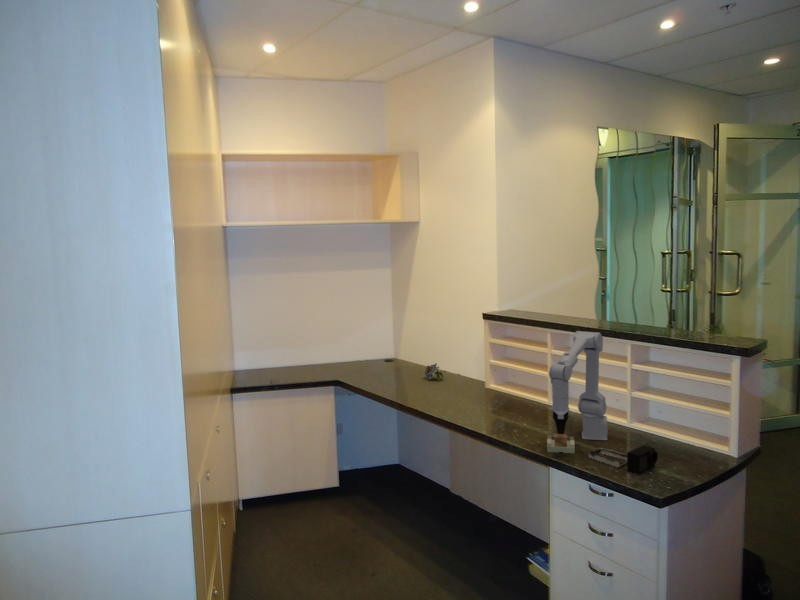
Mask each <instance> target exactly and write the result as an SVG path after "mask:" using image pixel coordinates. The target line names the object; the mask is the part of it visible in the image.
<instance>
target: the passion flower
mask: <svg viewBox="0 0 800 600" xmlns="http://www.w3.org/2000/svg"><path fill="white" fill-rule="evenodd" d="M437 365H438V364H437V362H435V363H434V364H431V365H426V368H424V370H425V371H424V372H423V373H424V375H425V376H426V381H430V380H432V379H433V376H435V377H436V380H437V382H441V380H443V379H444V375H443V373H442V372H444V374H445V375H446V374H447V372H446V370H443V371H439V369H440V366H437Z"/></svg>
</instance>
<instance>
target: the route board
mask: <svg viewBox="0 0 800 600" xmlns="http://www.w3.org/2000/svg"><path fill="white" fill-rule="evenodd" d="M546 442H547V443H546V448H547V449H546V450H547V451H546V452H547V453H559V452H563V454H575V452H576V451H575V450H576V449H575V448H576V447H575V445H576V444H575V437H574V436H568V435H567V447H559V446H555V435H548V434H547V439H546Z"/></svg>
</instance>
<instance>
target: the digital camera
mask: <svg viewBox="0 0 800 600" xmlns="http://www.w3.org/2000/svg"><path fill="white" fill-rule="evenodd" d="M626 454H627V460H626V461H627V465H626V470H627V472H628V471H629V472H628V473H631V472H632V473H631V474H634V473H636V474H635V475H637V474H640V475H641V473H642V474H644V473H646V472H648V471H650V470H652V469H654V468H655V467H656V463H657V462H658V458H659V455H658V451H656V448H654V447H651V446H648V445H644V444H643V445H641V446H638V447H636V448H633V449H632V450H629V451H628V452H626ZM651 468H652V469H651ZM649 469H650V470H649ZM647 470H648V471H647ZM645 471H646V472H645ZM643 472H644V473H643Z"/></svg>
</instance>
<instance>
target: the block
mask: <svg viewBox="0 0 800 600" xmlns="http://www.w3.org/2000/svg"><path fill="white" fill-rule="evenodd" d="M554 436H555V446H559V447H567V436H568V435H567V434H565V433H564V434H558V433H554Z"/></svg>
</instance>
